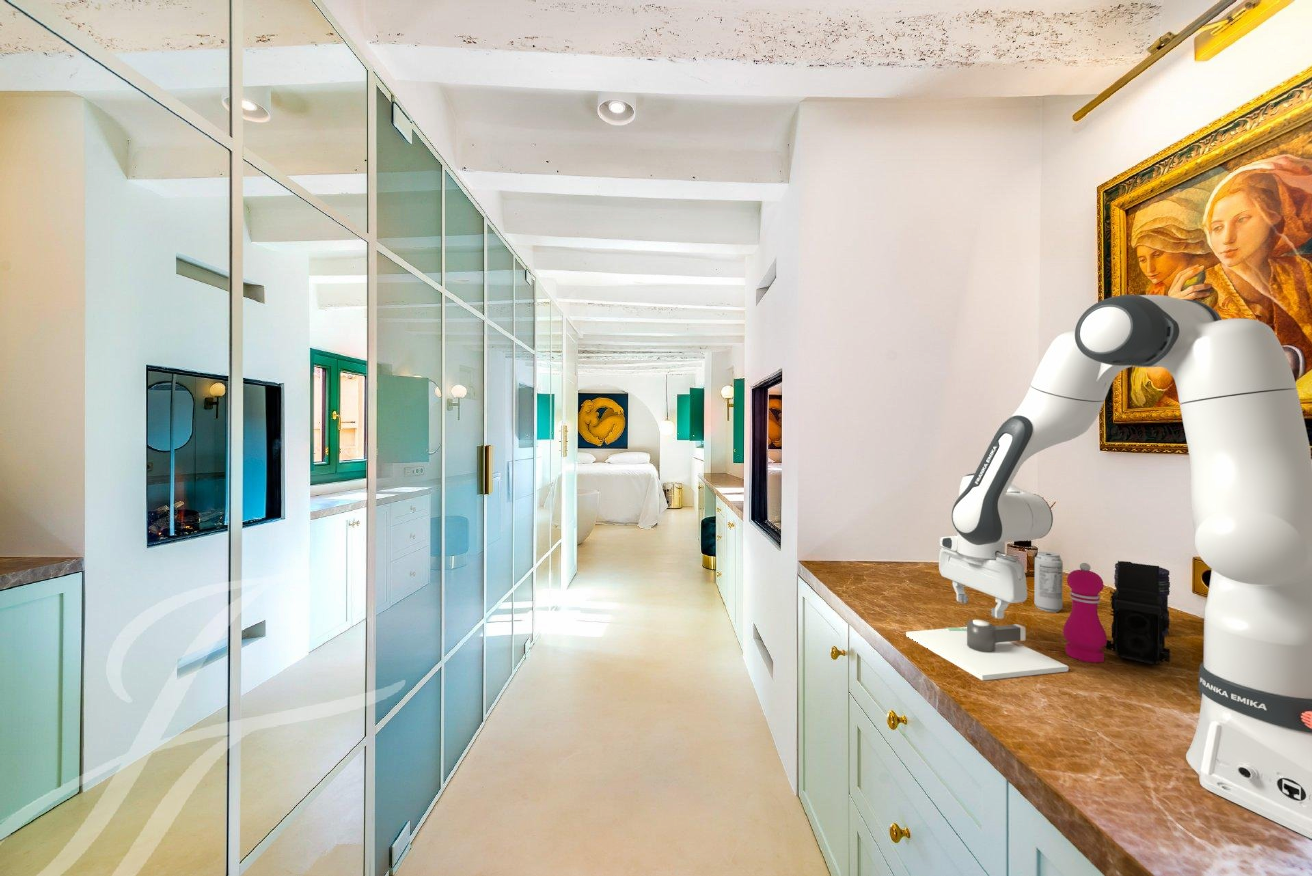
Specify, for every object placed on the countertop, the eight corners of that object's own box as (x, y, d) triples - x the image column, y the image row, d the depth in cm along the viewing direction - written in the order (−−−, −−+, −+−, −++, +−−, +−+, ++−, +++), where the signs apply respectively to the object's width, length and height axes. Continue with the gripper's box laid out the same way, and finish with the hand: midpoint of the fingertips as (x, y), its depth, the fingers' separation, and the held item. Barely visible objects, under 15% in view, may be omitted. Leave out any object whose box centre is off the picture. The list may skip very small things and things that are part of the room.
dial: (980, 652, 109) (980, 627, 109) (961, 642, 114) (961, 618, 114) (1031, 647, 111) (1032, 622, 111) (1011, 638, 116) (1011, 614, 116)
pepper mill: (1115, 665, 105) (1116, 568, 105) (1075, 662, 107) (1075, 566, 107) (1093, 650, 112) (1093, 559, 112) (1055, 648, 114) (1056, 558, 114)
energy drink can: (1060, 607, 140) (1061, 552, 140) (1063, 614, 135) (1064, 557, 135) (1033, 603, 143) (1033, 550, 143) (1035, 610, 138) (1035, 554, 138)
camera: (1104, 662, 107) (1105, 565, 107) (1107, 642, 117) (1108, 554, 117) (1172, 677, 100) (1173, 574, 100) (1169, 655, 110) (1170, 561, 110)
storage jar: (1182, 637, 120) (1182, 573, 120) (1139, 636, 120) (1139, 573, 120) (1142, 621, 130) (1143, 562, 130) (1102, 621, 130) (1103, 562, 130)
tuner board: (1069, 671, 103) (1069, 665, 103) (982, 680, 99) (982, 674, 99) (979, 629, 125) (979, 624, 125) (905, 635, 121) (905, 630, 121)
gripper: (1036, 557, 102) (1035, 626, 102) (957, 536, 122) (956, 593, 122) (1009, 559, 101) (1008, 629, 101) (934, 537, 121) (933, 595, 121)
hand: (979, 609), depth 112 cm, fingers open, 8 cm apart
